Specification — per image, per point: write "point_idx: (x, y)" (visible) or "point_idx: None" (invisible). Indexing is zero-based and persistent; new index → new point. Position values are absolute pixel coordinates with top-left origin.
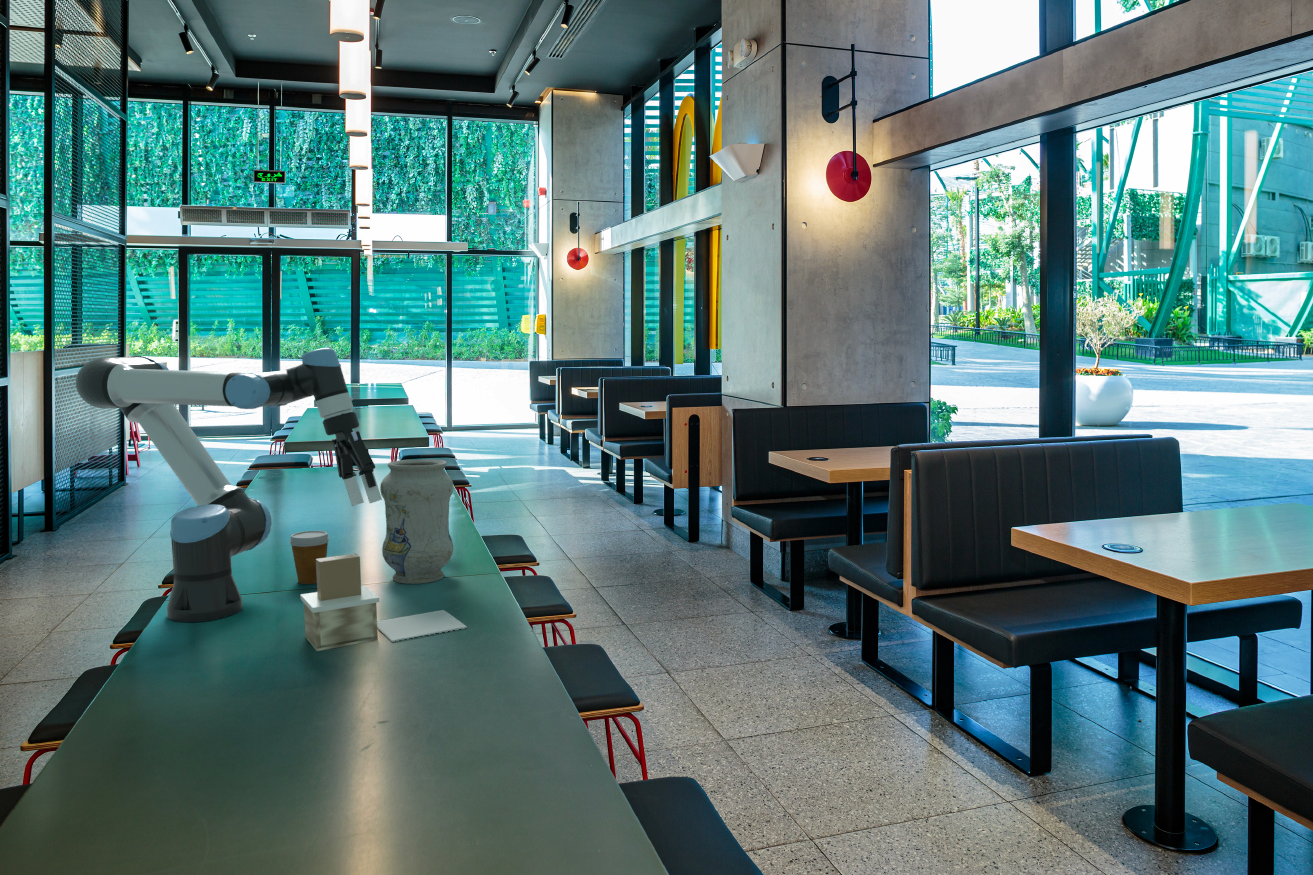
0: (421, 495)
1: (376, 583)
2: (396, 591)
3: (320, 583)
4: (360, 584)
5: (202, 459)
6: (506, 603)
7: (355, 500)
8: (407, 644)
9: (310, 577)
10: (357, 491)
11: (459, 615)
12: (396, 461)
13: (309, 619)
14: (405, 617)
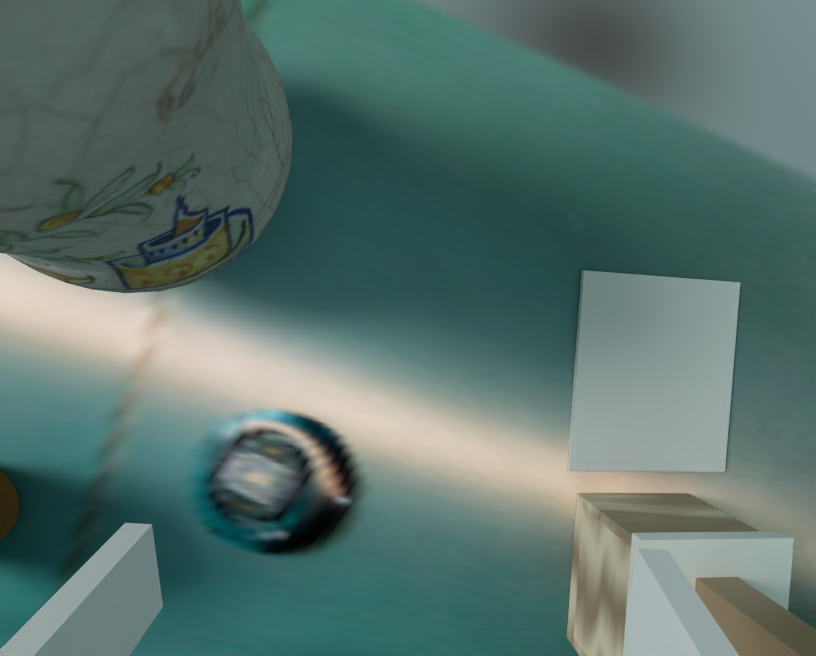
0: (229, 12)
1: (157, 322)
2: (300, 303)
3: None
4: (765, 597)
5: None
6: (617, 92)
7: (137, 609)
8: (753, 444)
9: (2, 530)
10: (77, 638)
11: (636, 250)
12: None
13: None
14: (584, 383)
